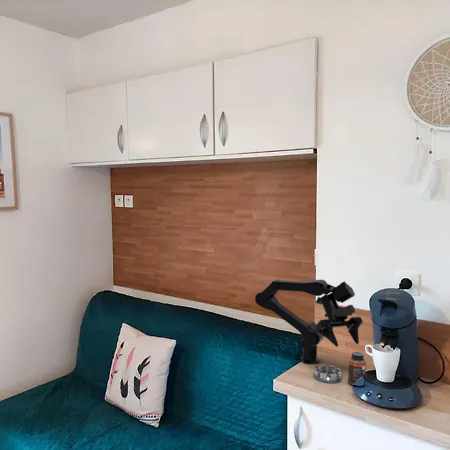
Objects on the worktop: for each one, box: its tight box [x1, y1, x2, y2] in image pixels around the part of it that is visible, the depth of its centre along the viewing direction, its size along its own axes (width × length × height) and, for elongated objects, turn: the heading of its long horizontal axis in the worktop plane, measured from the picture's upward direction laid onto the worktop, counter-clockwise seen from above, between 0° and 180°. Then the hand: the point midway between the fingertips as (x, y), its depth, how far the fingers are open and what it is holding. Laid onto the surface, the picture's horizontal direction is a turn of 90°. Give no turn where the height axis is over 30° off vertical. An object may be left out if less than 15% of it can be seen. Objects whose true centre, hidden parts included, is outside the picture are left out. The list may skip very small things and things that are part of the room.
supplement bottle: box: [347, 351, 367, 387], centre depth 163 cm, size 6×6×11 cm
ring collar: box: [313, 364, 343, 384], centre depth 169 cm, size 10×10×3 cm
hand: (347, 344), depth 169 cm, fingers open, 9 cm apart
